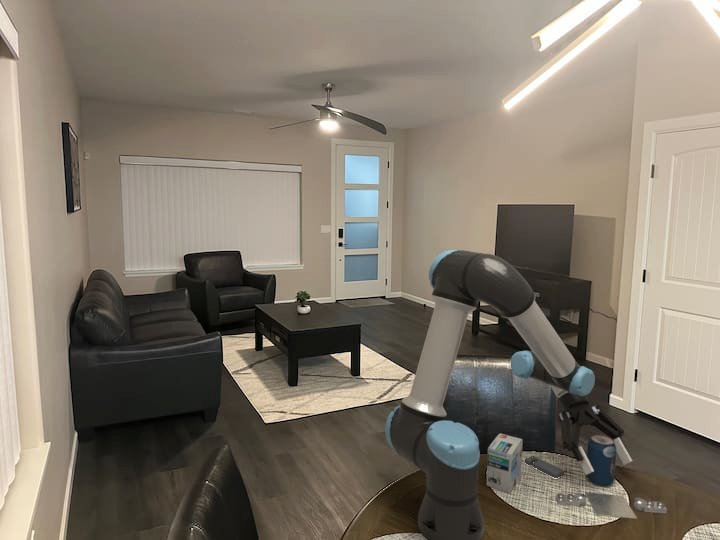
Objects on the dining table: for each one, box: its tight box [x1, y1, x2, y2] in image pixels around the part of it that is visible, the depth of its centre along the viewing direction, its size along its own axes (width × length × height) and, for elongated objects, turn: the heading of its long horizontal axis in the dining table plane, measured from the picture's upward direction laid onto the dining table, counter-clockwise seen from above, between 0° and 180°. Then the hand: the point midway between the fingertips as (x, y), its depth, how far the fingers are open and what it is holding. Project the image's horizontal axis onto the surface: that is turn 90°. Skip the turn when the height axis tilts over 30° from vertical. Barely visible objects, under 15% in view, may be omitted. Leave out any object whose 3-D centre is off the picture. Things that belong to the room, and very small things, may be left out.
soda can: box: [585, 434, 617, 488], centre depth 136 cm, size 7×7×12 cm
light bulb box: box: [486, 432, 524, 494], centre depth 137 cm, size 11×7×11 cm, turn 148°
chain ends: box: [555, 492, 668, 520], centre depth 126 cm, size 25×9×2 cm, turn 82°
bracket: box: [524, 455, 565, 479], centre depth 143 cm, size 4×10×2 cm, turn 35°
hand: (609, 468), depth 134 cm, fingers open, 13 cm apart
